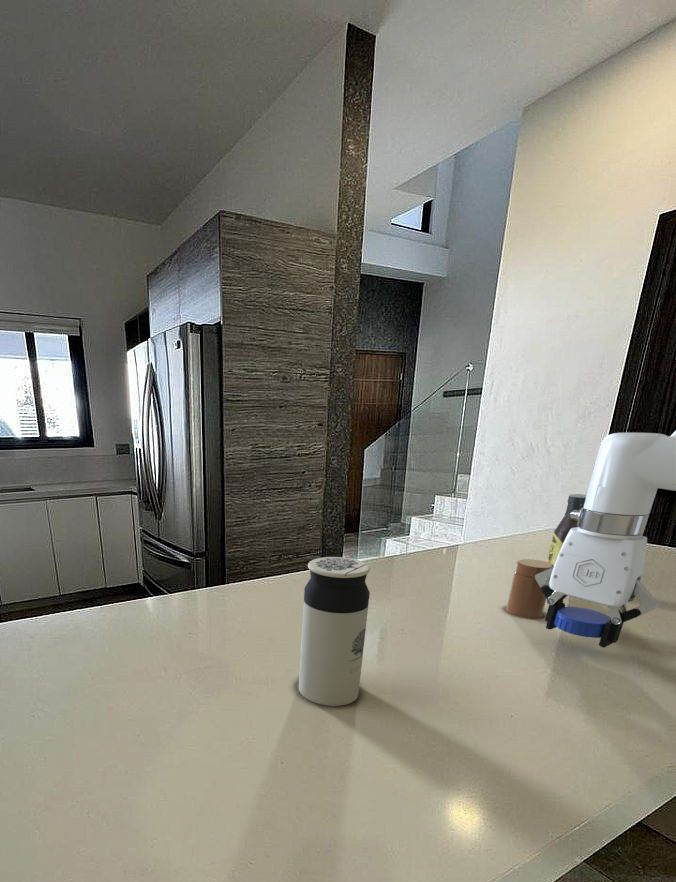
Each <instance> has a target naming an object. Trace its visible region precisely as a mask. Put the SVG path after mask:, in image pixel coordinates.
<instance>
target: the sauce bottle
mask: <svg viewBox="0 0 676 882" xmlns="http://www.w3.org/2000/svg"><path fill="white" fill-rule="evenodd" d="M586 496H587V494H584V493H583V494H582V493H574V494H569V495H568V498H567V506H566V510H565V513H564V516H563V517H562V519H561V520H560V522H559V523H558V525H557V526H556V527H555V529H554V530H553V533H552V537H551V542H550V545H549V549H548V554H547V557H546V562H548V563H551V564H553V565H555V562H556V560H557V557H558V554H559V552H560V550H561V547H562V545H563V543H564V541H565V538H566V537H567V535H568V533H569V531H570V529H571V528H575V527H578V525H577V523H578V520H575V519H571V518H570V515H571V512H572V511H573V510H581V508H583V507H584V503H585V499H586Z"/></svg>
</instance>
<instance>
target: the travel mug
mask: <svg viewBox="0 0 676 882" xmlns="http://www.w3.org/2000/svg"><path fill="white" fill-rule="evenodd" d="M307 568H308V569H309V572H310V573H309V574H310V577H309V579H308V581H307V583H306V584H305V586H304V588H303V590H304V592H303V609H302V622H301V623H302V626H301V640H300V658H299V675H298V691H299V692H300V694H301V695H302V696H303V698H305V699H307V700H309V701H310V702H313V703H316V704H318V705H322V706H329V707H338V706H346V705H348V704H351V703H353V702H354V701H356V700H357V699H358V697H359V693H360V686H361V685H360V684H361V675H362V666H363V656H364V648H365V647H364V646H365V640H366V639H365V638H366V631H367V630H366V629H367V621H368V612H369V603H370V595H371V593H370V592H371V591H370V590H369V587H368V585H367V583H366V579H367V576H368V574H369V573H370V572H371V566H370V565H369V564H368V563H366V562H365V561H362V560H359V559H356V558H351V557H344V556H343V557H342V556H325V557H318V558H315V559H312V560H310V561H309V562H307Z"/></svg>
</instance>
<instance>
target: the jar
mask: <svg viewBox="0 0 676 882" xmlns="http://www.w3.org/2000/svg"><path fill="white" fill-rule="evenodd" d="M515 567H516V568H515V570H514V572H513V576H512V581H511V585H510V589H509V594H508V599H507V604H506V608H505V611H506V612H507V613H509V614H510V615H512V616H516V617H519V618H523V619H540V618H542V617H543V615H544V611H545V607H546V604H547V599H546V597H545V596H544V594H543V593H542V591H541V587H540V586H539V584H538V583H537V581H536V579H535V575H536V574H539V573H541V572H543V571H545V570H548V569H550V568H552V567H554V565H553V564H551V563H548V562H547V561H546V560H545V561H544V560H541V559H533V558H532V559H531V558H523V559H522V558H521V559H519V560H517V561H516V566H515ZM549 580H550V578H549Z"/></svg>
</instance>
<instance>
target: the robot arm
mask: <svg viewBox="0 0 676 882" xmlns="http://www.w3.org/2000/svg"><path fill="white" fill-rule="evenodd" d="M658 489H662V490H667V491H675V492H676V430H675V431H674V432H673V433H672V434H671V435H670V436H668V435H666V434H664V433H657V432H614V433H610V434H607V435H606V436H605V437H604V438H603V440H602V441H601V443H600V445H599V448H598V452H597V455H596V459H595V463H594V466H593V470H592V474H591V477H590V481H589V484H588V488H587V492H586V495H587V496H586V499H585V503H584V507H583V508H581V510H573V511H572V512H571V515H570V518H571V519H575V520H578V523H577V525H578V527H575V528H571V529H570V531H569V533H568V535H567V537H566V538H565V541H564V543H563V545H562V547H561V550H560V552H559V554H558V557H557V560H556V562H555V565H554V567H552V568H550V569H548V570H545V571H543V572H541V573H539V574H536V575H535V579H536V581H537V583H538V584H539V586H540V587H541V591H542V593H543V594H544V596H545V597H546V604H547V605H548V609H547V611H546V615H545V622H546V625H545V629H546V630H550V631H551V630H553V629H556V628H557V627H556V626H555V624H554V620H555V616H556V613H557V611H558V609H559V608H562V607H566V603H565V602H564V600H565V599H566V598H567V597H572V598H574V599H578V600H583V601H586V602H590V603H594V604H597V605H600V606H601V605H602V606H604V607H607V611H608V614H609V617H610V621H608V622H606V623H605V626H604V629H603V633H602V636H601V637H600V639H599V642H598V646H599V647H601V648H607V647H609V646H611V645H612V644H615V643H617V642H618V640H619V638H620V635H621V631H622V629H623V626H624V623H625V622H628V621H630V620H634V619H636V618H638V617H640V616H643V615H645V614H646V613H650V612H651V611H653V610H655V609H657V608H659V606H660V604H659V602H658V601H657V600H656V598H655V597H654V596H653V594H651V592H650V591H649V590H648V589H647V588H646V587H645V585H644V584H643V583H642V578H643V574H644V570H645V564H646V558H647V549H648V537H647V536H644V532H645V529H646V526H647V523H648V519H649V517H650V514H651V510H652V507H653V504H654V501H655V498H656V495H657V492H658ZM549 578H550V580H549ZM635 599H637V600H638V602H639V605H637V606H635V607H634V608H631V609H628V605H627V603H628V602H629V603H630V602H633V601H634V600H635Z"/></svg>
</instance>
